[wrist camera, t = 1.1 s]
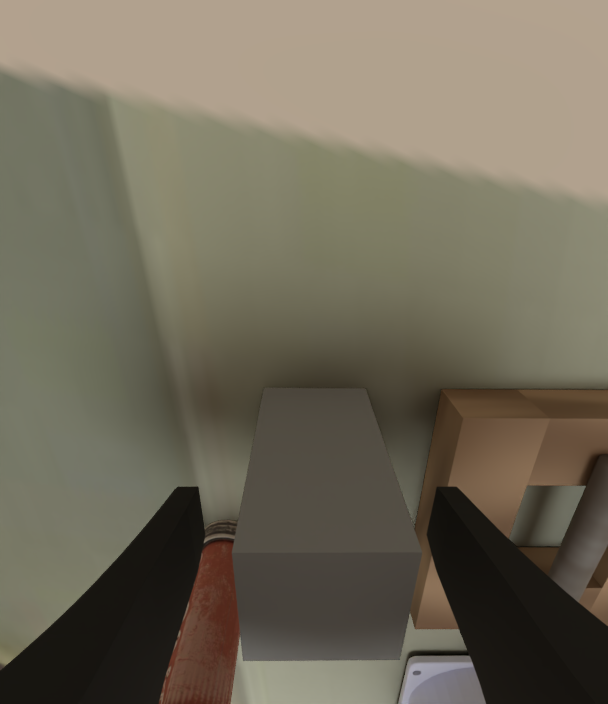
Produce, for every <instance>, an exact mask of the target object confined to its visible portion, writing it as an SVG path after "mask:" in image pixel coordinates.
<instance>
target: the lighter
mask: <svg viewBox="0 0 608 704" xmlns="http://www.w3.org/2000/svg"><path fill="white" fill-rule="evenodd" d="M237 523H238V522H237V521H231V520H220V521H216V522H213V523H211V524H210V525H208V526H207V527H206V528H205V539H204V544H203V549H202V555H201V559H200V564H199V569H198V573H197V576H196V580H195V583H194V586H193V589H192V592H191V596H190V599H189V602H188V605H187V608H186V612H185V615H184V618H183V621H182V624H181V627H180V631H179V634H178V637H177V640H176V643H175V646H174V650H173V653H172V656H171V659H170V662H169V666H168V669H167V673H166V676H165V680H164V684H163V688H162V692H161V696H160V700H159V704H230V702H231V695H232V688H233V680H234V673H235V666H236V659H237V652H238V645H239V637H240V627H239V617H238V608H237V598H236V589H235V579H234V569H233V560H232V549H233V544H234V539H235V534H236V528H237Z"/></svg>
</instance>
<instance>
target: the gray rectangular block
mask: <svg viewBox="0 0 608 704" xmlns="http://www.w3.org/2000/svg"><path fill="white" fill-rule="evenodd" d="M421 557H422V550H421V547H420V544H419V541H418V538H417V535H416V532H415V530H414V527H413V524H412V521H411V518H410V515H409V512H408V509H407V507H406V504H405V501H404V498H403V495H402V492H401V489H400V486H399V484H398V481H397V478H396V475H395V472H394V469H393V466H392V463H391V461H390V458H389V455H388V452H387V449H386V446H385V443H384V440H383V438H382V435H381V432H380V429H379V426H378V423H377V420H376V417H375V414H374V412H373V409H372V406H371V403H370V400H369V397H368V394H367V391H366V389H365V388H264V389H263V394H262V400H261V405H260V410H259V415H258V420H257V425H256V430H255V436H254V441H253V446H252V451H251V456H250V461H249V467H248V472H247V477H246V482H245V487H244V492H243V497H242V503H241V508H240V513H239V518H238V523H237V528H236V534H235V539H234V544H233V549H232V560H233V569H234V579H235V589H236V598H237V608H238V617H239V627H240V636H241V646H242V655H243V661H305V660H400V656H401V651H402V646H403V642H404V637H405V632H406V628H407V623H408V618H409V613H410V609H411V604H412V599H413V595H414V590H415V585H416V580H417V576H418V571H419V566H420V561H421Z"/></svg>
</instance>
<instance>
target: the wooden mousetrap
mask: <svg viewBox="0 0 608 704" xmlns="http://www.w3.org/2000/svg"><path fill="white" fill-rule="evenodd" d="M527 485H552V486H586V488H585V490H584V492H583V495H582V497H581V499H580V502H579V504H578V506H577V508H576V511H575V513H574V515H573V518H572V520H571V522H570V525H569V527H568V529H567V531H566V534H565V536H564V538H563V541H562V543H561V545H560V547H517V548H518V549H519V550H520V551H522V552H523V553H524V554H525V555H526V556H527V557H528V558H529V559H530V560H531V561H532V562H533V563H534V564H535V565H536V566H538V567H539V568H540V569H541V570H542V571H543V572H544V573H545V574H546V575H548V576H549V577H550V578H551V579H552V580H553V581H554V582H555V583H557V584H558V585H559V586H560V587H561V588H562V589H563V590H564V591H566V592H567V593H568V594H569V595H570V596H572V597H573V598H574V599H575V600H576V601H577V602H579V603H580V604H581V605H582V606H584V607H585V608H586V609H587V610H588V611H590V612H591V613H592V614H593V615H595V616H596V617H597V618H598V619H600V620H601V621H602V622H603V623H605V624H606V625H607V626H608V390H512V389H441V394H440V400H439V405H438V410H437V415H436V420H435V426H434V431H433V436H432V441H431V447H430V452H429V457H428V462H427V467H426V473H425V478H424V483H423V488H422V493H421V499H420V504H419V509H418V514H417V519H416V525H415V532H416V535H417V538H418V541H419V544H420V547H421V550H422V557H421V561H420V566H419V571H418V576H417V580H416V585H415V590H414V595H413V599H412V604H411V609H410V613H411V616H412V620H413V624H414V627H415V629H459V628H458V625H457V622H456V620H455V617H454V615H453V612H452V610H451V607H450V605H449V602H448V600H447V597H446V595H445V592H444V589H443V587H442V584H441V582H440V579H439V576H438V574H437V571H436V568H435V564H434V561H433V557H432V554H431V550H430V546H429V542H428V538H427V535H426V534H427V529H428V525H429V520H430V516H431V511H432V506H433V502H434V497H435V492H436V488H437V487H458V488H459V489H460V490H461V491H462V492H463V493H464V494H465V495H466V496H467V497H468V498H469V499H470V500H471V501H472V503H473V504H474V505H475V506H476V507H477V508H478V509H479V510H480V511H481V512H482V513H483V514H484V515H485V516H486V517H487V518H488V519H489V520H490V521H491V522H492V523H493V524H494V525H495V526H496V527H497V528H498V529H499V530H500V531H501V532H502V533H503V534H504V535H505V536H506V537H507V538H508V539H509V536H510V533H511V530H512V527H513V524H514V521H515V519H516V516H517V513H518V510H519V507H520V504H521V501H522V498H523V496H524V493H525V490H526V487H527Z"/></svg>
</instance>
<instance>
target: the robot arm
mask: <svg viewBox="0 0 608 704" xmlns="http://www.w3.org/2000/svg"><path fill="white" fill-rule="evenodd" d="M426 535H427V538H428V542H429V546H430V550H431V554H432V557H433V561H434V564H435V568H436V571H437V574H438V576H439V579H440V582H441V584H442V587H443V589H444V592H445V595H446V597H447V600H448V602H449V605H450V607H451V610H452V612H453V615H454V617H455V620H456V622H457V625H458V628H459V630H460V633H461V635H462V638H463V640H464V643H465V645H466V648H467V650H468V653H469V655H470V656H413V657H411V658H409V660H408V663H407V667H406V671H405V676H404V680H403V685H402V689H401V693H400V698H399V702H398V704H608V626H607V625H606V624H605V623H603V622H602V621H601V620H600V619H598V618H597V617H596V616H595V615H593V614H592V613H591V612H590V611H588V610H587V609H586V608H585V607H584V606H582V605H581V604H580V603H579V602H577V601H576V600H575V599H574V598H573V597H572V596H570V595H569V594H568V593H567V592H566V591H564V590H563V589H562V588H561V587H560V586H559V585H558V584H557V583H555V582H554V581H553V580H552V579H551V578H550V577H549V576H548V575H546V574H545V573H544V572H543V571H542V570H541V569H540V568H539V567H538V566H536V565H535V564H534V563H533V562H532V561H531V560H530V559H529V558H528V557H527V556H526V555H525V554H524V553H523V552H522V551H520V550H519V549H518V548H517V547H516V546H515V545H514V544H513V543H512V542H511V541H510V540H509V539H508V538H507V537H506V536H505V535H504V534H503V533H502V532H501V531H500V530H499V529H498V528H497V527H496V526H495V525H494V524H493V523H492V522H491V521H490V520H489V519H488V518H487V517H486V516H485V515H484V514H483V513H482V512H481V511H480V510H479V509H478V508H477V507H476V506H475V505H474V504H473V503H472V501H471V500H470V499H469V498H468V497H467V496H466V495H465V494H464V493H463V492H462V491H461V490H460V489H459V488H458V487H437V488H436V492H435V497H434V502H433V506H432V511H431V516H430V520H429V525H428V529H427V534H426ZM204 539H205V529H204V522H203V516H202V509H201V502H200V495H199V488H198V487H177V488H176V489H175V490H174V491H173V492H172V494H171V495H170V496H169V497H168V499H167V500H166V501H165V503H164V504H163V505H162V506H161V508H160V509H159V510H158V511H157V513H156V514H155V515H154V516H153V517H152V519H151V520H150V521H149V522H148V523H147V525H146V526H145V527H144V528H143V529H142V531H141V532H140V533H139V534H138V535H137V536H136V538H135V539H134V540H133V541H132V542H131V543H130V545H129V546H128V547H127V548H126V549H125V550H124V552H123V553H122V554H121V555H120V556H119V557H118V558H117V559H116V560H115V561H114V563H113V564H112V565H111V566H110V567H109V568H108V569H107V570H106V571H105V572H104V573H103V574H102V575H101V576H100V578H99V579H98V580H97V581H96V582H95V583H94V584H93V585H92V586H91V587H90V588H89V589H88V590H87V591H86V592H85V593H84V594H83V595H82V596H81V597H80V598H79V599H78V600H77V601H76V602H75V603H74V604H73V605H72V606H71V607H70V608H69V609H68V610H67V611H66V612H65V613H64V614H63V615H62V616H61V617H60V618H59V619H57V620H56V621H55V622H54V623H53V624H52V625H51V626H50V627H49V628H48V629H47V630H46V631H45V632H43V633H42V634H41V635H40V636H39V637H38V638H37V639H36V640H35V641H33V642H32V643H31V644H30V645H29V646H28V647H27V648H26V649H25V650H23V651H22V652H21V653H20V654H19V655H18V656H17V657H16V658H14V659H13V660H12V661H11V662H10V663H9V664H7V665H6V666H5V667H4V668H3V669H2V670H0V704H159V700H160V696H161V692H162V688H163V684H164V680H165V676H166V673H167V669H168V666H169V662H170V659H171V656H172V653H173V650H174V646H175V643H176V640H177V637H178V634H179V631H180V627H181V624H182V621H183V618H184V615H185V612H186V608H187V605H188V602H189V599H190V596H191V592H192V589H193V586H194V583H195V580H196V576H197V573H198V569H199V564H200V559H201V555H202V549H203V544H204Z"/></svg>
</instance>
